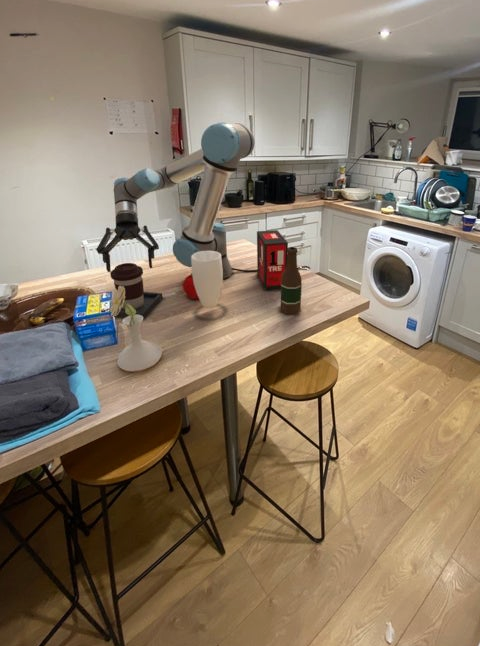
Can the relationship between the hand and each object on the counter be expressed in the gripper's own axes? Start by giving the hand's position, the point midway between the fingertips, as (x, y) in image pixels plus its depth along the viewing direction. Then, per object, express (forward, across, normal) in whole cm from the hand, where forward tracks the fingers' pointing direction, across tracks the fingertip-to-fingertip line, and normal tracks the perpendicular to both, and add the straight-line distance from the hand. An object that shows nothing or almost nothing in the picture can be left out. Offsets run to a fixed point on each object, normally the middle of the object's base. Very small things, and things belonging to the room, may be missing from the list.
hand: (130, 268), depth 119 cm
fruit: (+11, -22, -7) cm, 25 cm away
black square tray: (+13, 0, -5) cm, 14 cm away
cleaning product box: (+8, -53, -11) cm, 55 cm away
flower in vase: (+36, -4, +18) cm, 41 cm away
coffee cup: (+12, 0, -5) cm, 13 cm away
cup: (+21, -25, +2) cm, 33 cm away
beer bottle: (+26, -53, +7) cm, 59 cm away
